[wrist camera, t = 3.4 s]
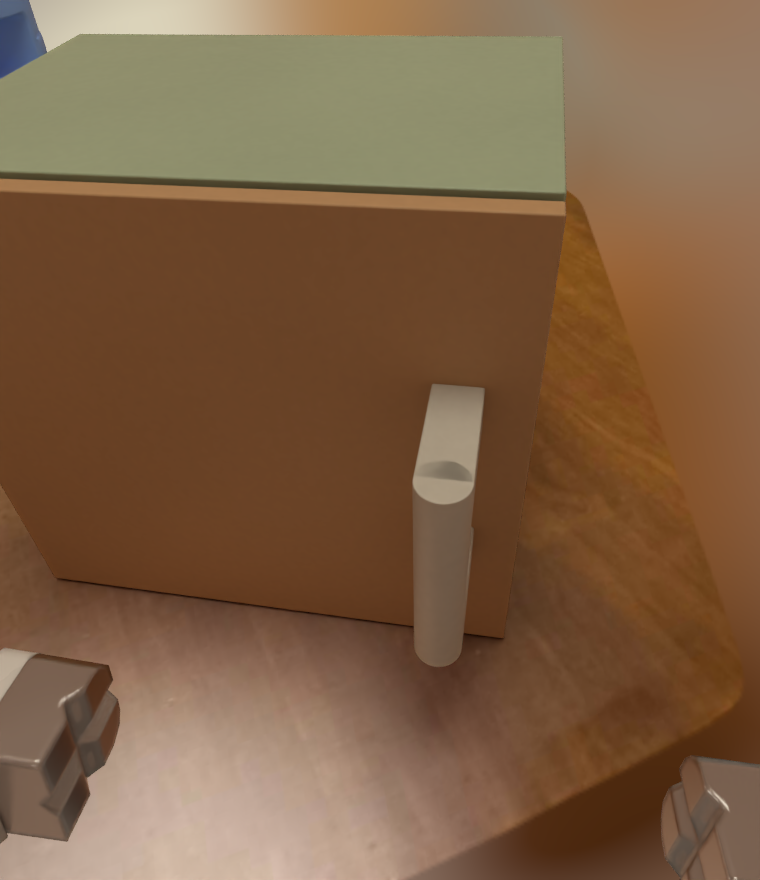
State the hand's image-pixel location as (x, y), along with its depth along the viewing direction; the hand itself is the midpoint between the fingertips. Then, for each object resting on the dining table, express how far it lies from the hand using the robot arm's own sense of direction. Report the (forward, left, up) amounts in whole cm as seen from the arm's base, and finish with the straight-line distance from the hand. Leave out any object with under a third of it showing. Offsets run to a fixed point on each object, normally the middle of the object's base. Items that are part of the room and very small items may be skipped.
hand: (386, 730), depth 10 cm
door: (+10, -14, -24) cm, 29 cm away
